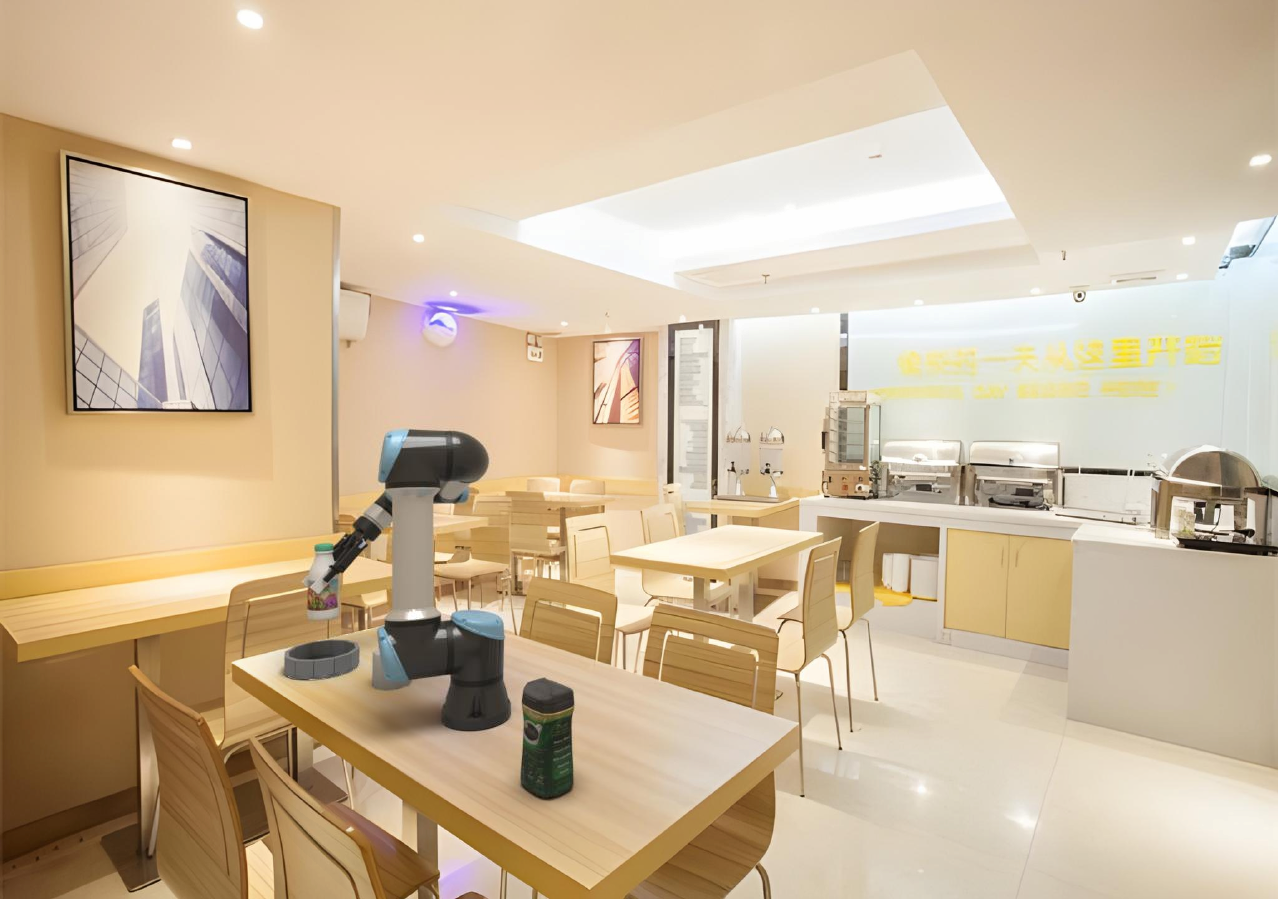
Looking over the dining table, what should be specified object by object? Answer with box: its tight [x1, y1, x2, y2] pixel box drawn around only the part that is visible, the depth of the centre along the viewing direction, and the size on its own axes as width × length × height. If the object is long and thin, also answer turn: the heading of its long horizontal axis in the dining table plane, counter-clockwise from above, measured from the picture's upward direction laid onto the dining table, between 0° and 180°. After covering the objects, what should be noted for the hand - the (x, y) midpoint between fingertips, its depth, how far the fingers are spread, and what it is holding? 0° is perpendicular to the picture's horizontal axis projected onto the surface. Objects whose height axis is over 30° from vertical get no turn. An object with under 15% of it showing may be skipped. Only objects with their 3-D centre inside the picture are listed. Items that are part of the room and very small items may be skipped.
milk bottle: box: [306, 542, 340, 622], centre depth 173 cm, size 8×8×20 cm
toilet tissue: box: [371, 646, 413, 691], centre depth 165 cm, size 9×13×9 cm
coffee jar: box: [520, 677, 576, 798], centre depth 116 cm, size 10×8×19 cm
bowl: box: [283, 638, 360, 680], centre depth 173 cm, size 18×18×5 cm
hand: (309, 587), depth 171 cm, fingers closed on milk bottle, 7 cm apart
